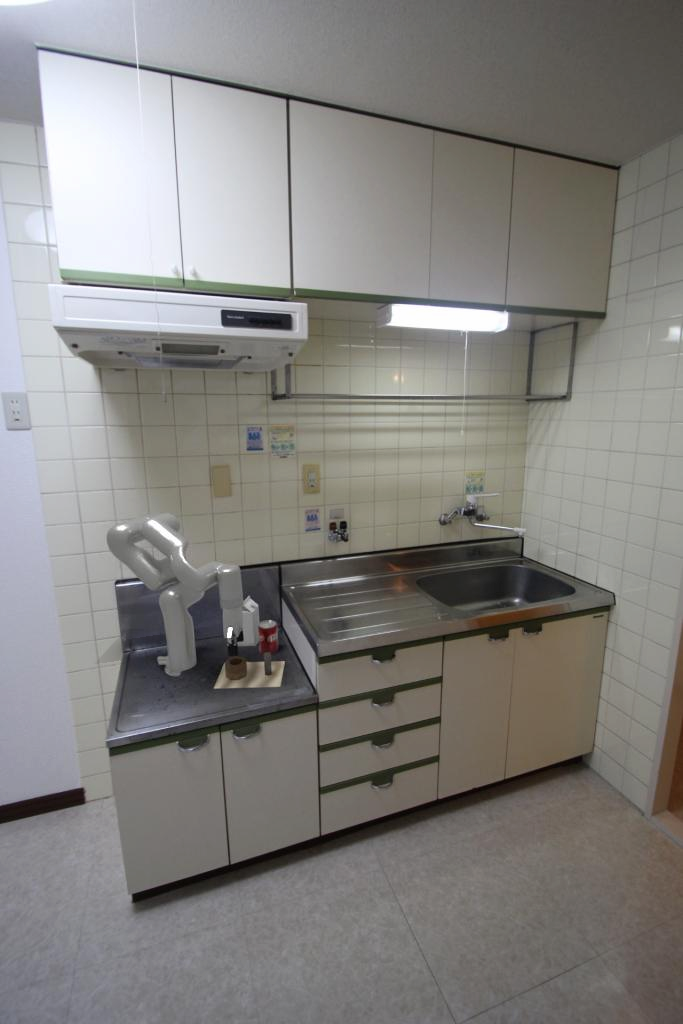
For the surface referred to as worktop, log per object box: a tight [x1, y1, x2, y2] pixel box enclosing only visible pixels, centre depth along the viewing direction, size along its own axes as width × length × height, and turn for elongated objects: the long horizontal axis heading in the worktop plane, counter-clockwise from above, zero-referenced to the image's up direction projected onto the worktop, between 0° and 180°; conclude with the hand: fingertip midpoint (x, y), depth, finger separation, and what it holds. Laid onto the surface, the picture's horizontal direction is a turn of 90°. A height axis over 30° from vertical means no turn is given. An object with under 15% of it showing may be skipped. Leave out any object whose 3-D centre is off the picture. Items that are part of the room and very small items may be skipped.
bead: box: [224, 655, 247, 680], centre depth 161 cm, size 7×7×5 cm
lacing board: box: [213, 652, 286, 690], centre depth 161 cm, size 22×16×9 cm
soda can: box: [258, 619, 279, 655], centre depth 178 cm, size 7×7×12 cm
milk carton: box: [236, 595, 261, 647], centre depth 185 cm, size 7×7×19 cm
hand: (236, 648), depth 160 cm, fingers open, 9 cm apart
